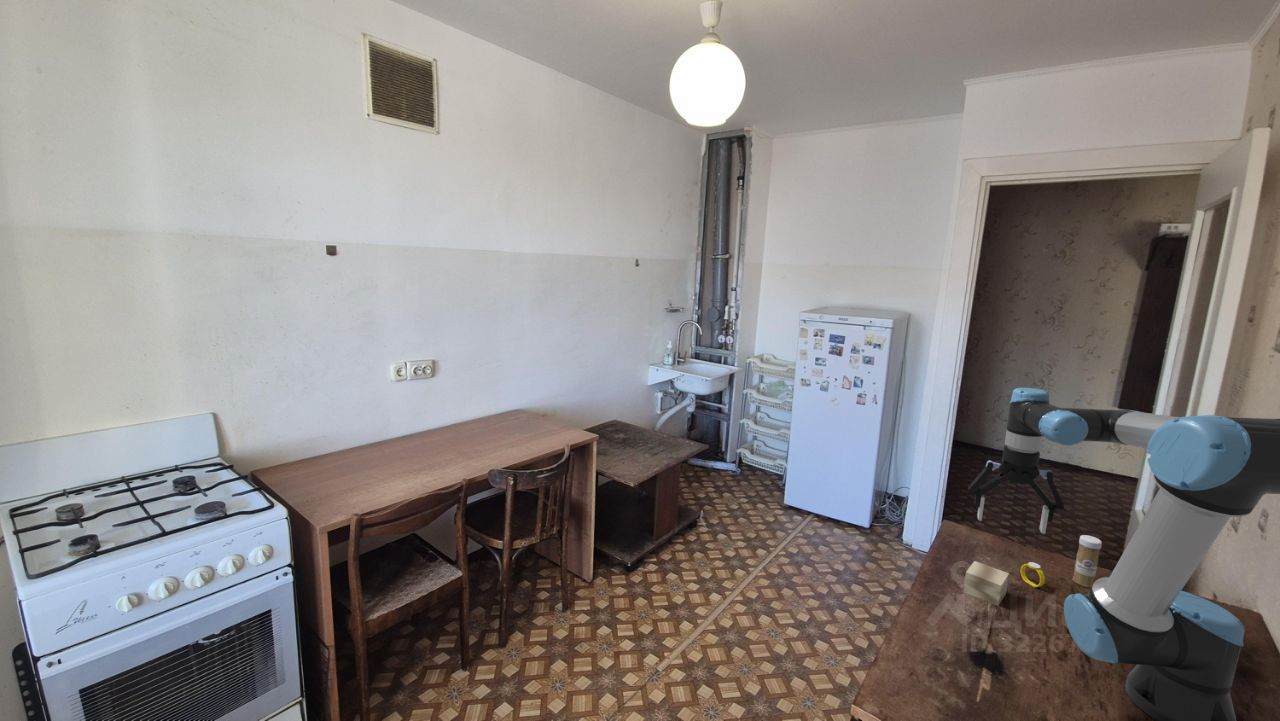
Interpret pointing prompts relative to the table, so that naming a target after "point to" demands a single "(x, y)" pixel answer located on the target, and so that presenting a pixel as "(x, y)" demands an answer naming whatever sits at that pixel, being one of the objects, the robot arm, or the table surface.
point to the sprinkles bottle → (1087, 560)
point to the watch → (1035, 567)
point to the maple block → (986, 583)
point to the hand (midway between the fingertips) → (1010, 524)
